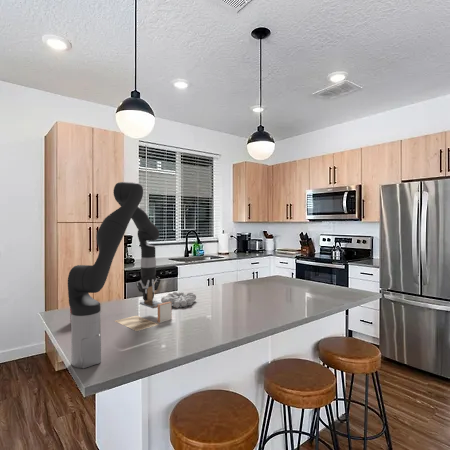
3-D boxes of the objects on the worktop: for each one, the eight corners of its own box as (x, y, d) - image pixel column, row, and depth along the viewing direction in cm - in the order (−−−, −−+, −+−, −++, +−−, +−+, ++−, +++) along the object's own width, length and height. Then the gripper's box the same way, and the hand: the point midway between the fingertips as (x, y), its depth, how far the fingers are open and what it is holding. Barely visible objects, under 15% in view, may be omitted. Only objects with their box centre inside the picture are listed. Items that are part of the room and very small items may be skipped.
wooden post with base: (139, 304, 160) (139, 286, 160) (151, 301, 165) (151, 284, 165) (153, 308, 151) (153, 290, 151) (165, 305, 157) (165, 287, 156)
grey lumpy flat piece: (158, 300, 192) (158, 290, 192) (191, 297, 199) (191, 288, 199) (164, 311, 171) (164, 300, 171) (201, 307, 179) (201, 297, 179)
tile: (171, 320, 153) (171, 302, 153) (159, 324, 148) (159, 305, 148) (169, 319, 154) (169, 301, 154) (157, 323, 149) (157, 304, 149)
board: (159, 325, 146) (159, 324, 146) (136, 332, 137) (136, 331, 137) (136, 316, 159) (136, 315, 159) (114, 322, 151) (114, 320, 151)
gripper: (140, 268, 153) (140, 303, 153) (164, 265, 163) (164, 298, 163) (132, 266, 158) (132, 301, 158) (155, 263, 168) (155, 296, 168)
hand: (148, 299), depth 161 cm, fingers closed on wooden post with base, 3 cm apart
